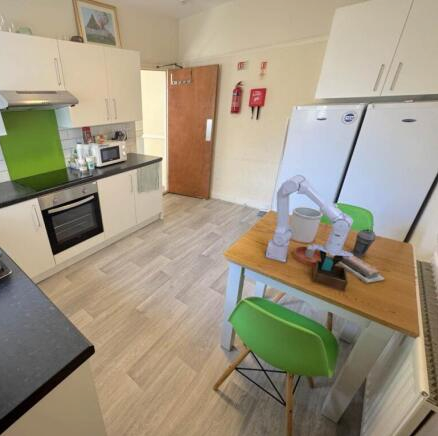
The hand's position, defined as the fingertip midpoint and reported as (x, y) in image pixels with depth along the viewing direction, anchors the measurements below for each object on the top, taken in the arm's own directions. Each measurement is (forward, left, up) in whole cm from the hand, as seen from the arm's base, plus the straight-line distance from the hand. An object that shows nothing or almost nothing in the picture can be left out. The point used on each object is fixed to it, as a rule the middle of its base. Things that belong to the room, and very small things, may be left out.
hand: (326, 266), depth 111 cm
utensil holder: (-11, +34, -6) cm, 36 cm away
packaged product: (+14, +13, -6) cm, 20 cm away
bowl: (-6, +12, -6) cm, 15 cm away
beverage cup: (+16, +28, -6) cm, 33 cm away
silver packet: (-6, +15, -5) cm, 17 cm away
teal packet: (0, 0, -1) cm, 1 cm away
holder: (+2, -2, -6) cm, 7 cm away
